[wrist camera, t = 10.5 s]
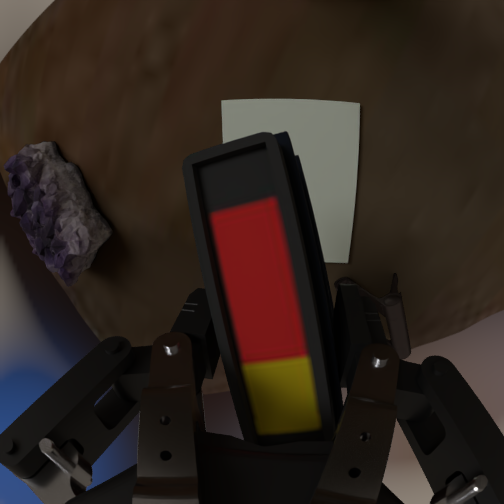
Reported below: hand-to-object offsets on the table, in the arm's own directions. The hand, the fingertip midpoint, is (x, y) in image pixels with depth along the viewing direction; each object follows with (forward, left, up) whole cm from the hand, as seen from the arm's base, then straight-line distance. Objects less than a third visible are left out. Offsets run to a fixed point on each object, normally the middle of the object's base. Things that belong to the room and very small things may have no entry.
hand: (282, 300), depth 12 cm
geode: (+2, -31, -22) cm, 38 cm away
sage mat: (0, 0, -21) cm, 21 cm away
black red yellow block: (0, 0, -10) cm, 10 cm away
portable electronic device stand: (+14, +11, -22) cm, 28 cm away
